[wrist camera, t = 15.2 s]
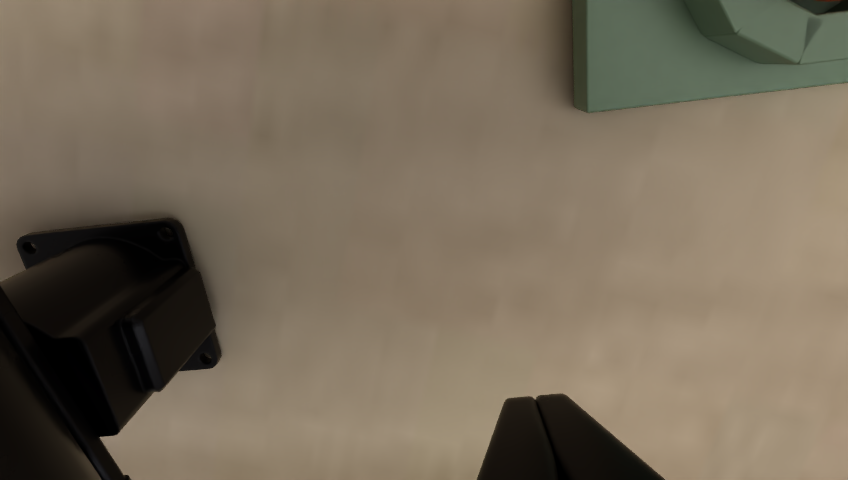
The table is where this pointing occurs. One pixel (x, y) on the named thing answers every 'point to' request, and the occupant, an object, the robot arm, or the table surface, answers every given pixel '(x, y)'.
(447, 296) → the table surface
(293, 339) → the table surface
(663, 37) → the switch box
